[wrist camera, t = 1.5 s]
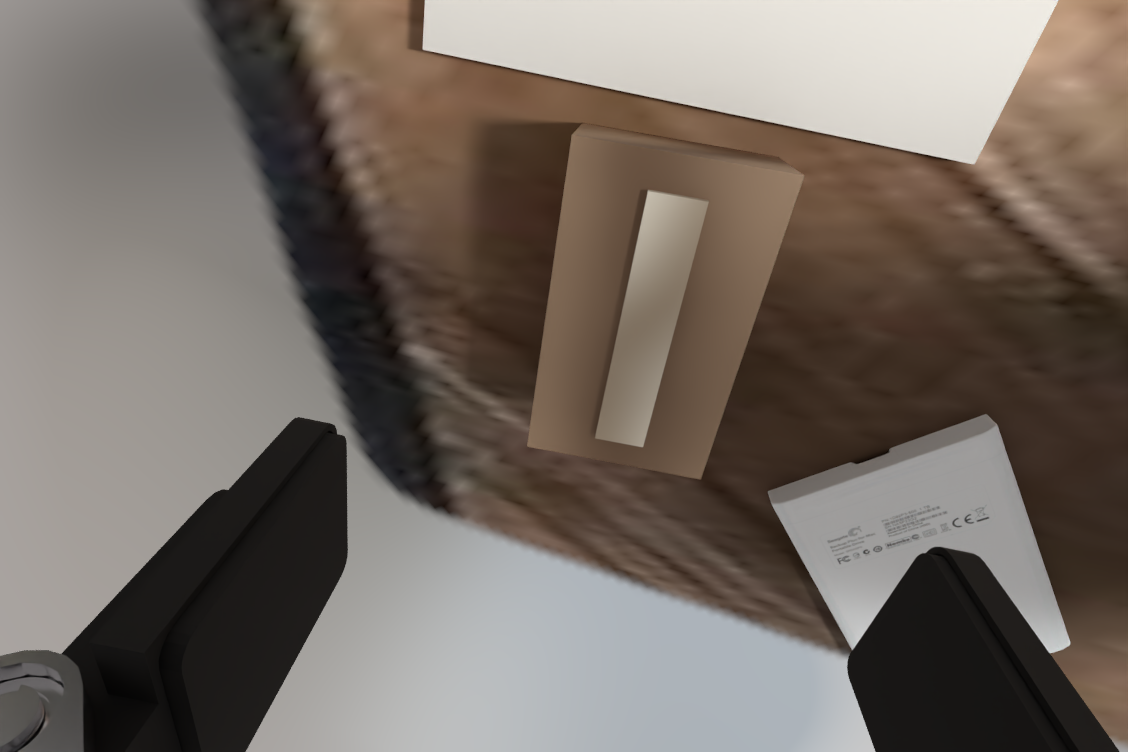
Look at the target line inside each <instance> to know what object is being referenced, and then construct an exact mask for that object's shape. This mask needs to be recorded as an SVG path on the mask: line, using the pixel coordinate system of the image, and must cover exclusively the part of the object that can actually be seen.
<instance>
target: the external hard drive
mask: <svg viewBox="0 0 1128 752" xmlns="http://www.w3.org/2000/svg"><path fill="white" fill-rule="evenodd" d="M768 495H769V498H770V501H771V504H772V506H773V508H774V510H775V512H776V514H777V515H778V517H779V519H780V521H781V522H782V524H783V526H784V528H785V530H786V532H787V533H788V535H789V537H790V539H791V541H792V543H793V544H794V546H795V548H796V550H797V552H798V553H799V555H800V557H801V559H802V561H803V563H804V564H805V566H806V568H807V570H808V571H809V573H810V575H811V577H812V579H813V581H814V582H815V584H816V586H817V588H818V590H819V592H820V593H821V595H822V597H823V599H824V601H825V602H826V604H827V606H828V608H829V610H830V611H831V613H832V615H833V616H834V618H835V620H836V622H837V624H838V626H839V627H840V629H841V631H842V633H843V635H844V636H845V638H846V640H847V642H848V644H849V645H850V647H851V649H852V650H853V649H854V647H855V646H856V644H857V643H858V642H859V640H860V639H861V637H862V636H863V634H864V633H865V631H866V630H867V628H868V627H869V625H870V624H871V623H872V621H873V620H874V618H875V617H876V615H877V614H878V612H879V611H880V609H881V608H882V606H883V605H884V604H885V602H886V601H887V599H888V598H889V596H890V595H891V593H892V592H893V590H894V589H895V587H896V586H897V585H898V583H899V582H900V580H901V579H902V577H903V576H904V574H905V573H906V571H907V570H908V568H909V567H910V565H911V564H912V563H913V561H914V560H915V558H916V557H917V556H918V555H919V554H922V553H926V552H927V551H928V550H929V549H931V548H933V547H944V548H949V549H954V550H959V551H964V552H969V553H973V554H975V555H977V556H979V557H980V558H981V559H982V560H983V561H984V562H985V563H986V565H987V566H988V568H989V569H990V570H991V572H992V573H993V575H994V576H995V577H996V579H997V580H998V582H999V583H1000V584H1001V586H1002V587H1003V589H1004V590H1005V591H1006V593H1007V594H1008V596H1009V597H1010V599H1011V600H1012V601H1013V603H1014V604H1015V606H1016V607H1017V608H1018V610H1019V611H1020V613H1021V614H1022V615H1023V617H1024V618H1025V620H1026V621H1027V622H1028V624H1029V625H1030V627H1031V628H1032V629H1033V631H1034V632H1035V634H1036V635H1037V636H1038V638H1039V639H1040V641H1041V642H1042V643H1043V645H1044V646H1045V648H1046V649H1047V650H1048V652H1049V653H1053V652H1057V651H1060V650H1063V649H1065V648H1066V647H1068V646H1069V645H1070V640H1069V637H1068V634H1067V631H1066V628H1065V624H1064V622H1063V619H1062V616H1061V613H1060V610H1059V607H1058V604H1057V601H1056V598H1055V595H1054V592H1053V589H1052V586H1051V583H1050V580H1049V577H1048V574H1047V571H1046V569H1045V566H1044V563H1043V560H1042V557H1041V554H1040V551H1039V548H1038V545H1037V542H1036V539H1035V536H1034V533H1033V530H1032V527H1031V524H1030V521H1029V518H1028V515H1027V512H1026V509H1025V506H1024V503H1023V500H1022V497H1021V494H1020V491H1019V488H1018V485H1017V482H1016V479H1015V476H1014V473H1013V470H1012V467H1011V464H1010V461H1009V459H1008V455H1007V453H1006V450H1005V446H1004V443H1003V440H1002V437H1001V434H1000V432H999V428H998V425H997V424H996V423H995V422H994V421H993V420H992V419H991V418H990V417H989V416H988V415H987V414H985V415H982V416H979V417H976V418H974V419H971V420H968V421H965V422H962V423H960V424H957V425H954V426H951V427H948V428H945V429H943V430H940V431H937V432H934V433H931V434H928V435H926V436H923V437H920V438H917V439H914V440H912V441H909V442H906V443H903V444H900V445H898V446H895V447H892V448H890V449H889V451H888V453H886V454H884V455H882V456H879V457H875V458H872V459H871V460H868V461H865V462H863V463H859V464H856V463H852V462H850V463H846V464H844V465H841V466H838V467H835V468H832V469H829V470H827V471H824V472H821V473H818V474H815V475H812V476H809V477H807V478H804V479H801V480H798V481H795V482H792V483H790V484H787V485H784V486H781V487H778V488H775V489H773V490H770V491H768Z"/></svg>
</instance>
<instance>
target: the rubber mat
mask: <svg viewBox="0 0 1128 752" xmlns="http://www.w3.org/2000/svg"><path fill="white" fill-rule="evenodd" d="M1057 2H1058V0H425V9H424V29H423V50H427V51H431V52H436V53H441V54H446V55H451V56H455V57H460V58H465V59H470V60H475V61H479V62H484V63H489V64H494V65H499V66H503V67H508V68H513V69H518V70H523V71H527V72H532V73H537V74H542V75H547V76H551V77H556V78H561V79H566V80H571V81H575V82H580V83H585V84H590V85H594V86H599V87H604V88H609V89H614V90H618V91H623V92H628V93H633V94H638V95H642V96H647V97H652V98H657V99H662V100H666V101H671V102H676V103H681V104H686V105H690V106H695V107H700V108H705V109H710V110H714V111H719V112H724V113H729V114H734V115H738V116H743V117H748V118H753V119H758V120H762V121H767V122H772V123H777V124H782V125H786V126H791V127H796V128H801V129H806V130H810V131H815V132H820V133H825V134H830V135H834V136H839V137H844V138H849V139H854V140H858V141H863V142H868V143H873V144H877V145H882V146H887V147H892V148H897V149H901V150H906V151H911V152H916V153H921V154H925V155H930V156H935V157H940V158H945V159H949V160H954V161H959V162H964V163H969V164H973V165H974V164H975V162H976V160H977V158H978V156H979V155H980V153H981V151H982V149H983V147H984V145H985V143H986V141H987V139H988V137H989V135H990V133H991V131H992V129H993V127H994V125H995V123H996V121H997V119H998V117H999V115H1000V114H1001V112H1002V110H1003V108H1004V106H1005V104H1006V102H1007V100H1008V98H1009V96H1010V94H1011V92H1012V90H1013V88H1014V86H1015V84H1016V82H1017V80H1018V78H1019V76H1020V74H1021V72H1022V71H1023V69H1024V67H1025V65H1026V63H1027V61H1028V59H1029V57H1030V55H1031V53H1032V51H1033V49H1034V47H1035V45H1036V43H1037V41H1038V39H1039V37H1040V35H1041V33H1042V31H1043V29H1044V28H1045V26H1046V24H1047V22H1048V20H1049V18H1050V16H1051V14H1052V12H1053V10H1054V8H1055V6H1056V4H1057Z"/></svg>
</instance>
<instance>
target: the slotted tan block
mask: <svg viewBox="0 0 1128 752" xmlns="http://www.w3.org/2000/svg"><path fill="white" fill-rule="evenodd" d="M803 179H804V175H803V174H802V173H800V172H799V171H797V170H796V169H794V168H793V167H792V166H790V165H789V164H787V163H786V162H785V161H783V160H782V159H780V158H779V157H775V156H769V155H764V154H758V153H752V152H746V151H741V150H735V149H729V148H723V147H718V146H712V145H706V144H701V143H695V142H689V141H683V140H678V139H672V138H666V137H660V136H655V135H649V134H643V133H638V132H632V131H626V130H620V129H615V128H609V127H603V126H597V125H592V124H586V123H582V124H581V125H580V126H579V127H578V128H577V130H576V131H575V132H574V133H573V134H572V137H571V144H570V151H569V158H568V165H567V172H566V179H565V186H564V192H563V199H562V206H561V213H560V220H559V227H558V234H557V241H556V248H555V255H554V262H553V269H552V276H551V283H550V290H549V297H548V304H547V310H546V317H545V324H544V331H543V338H542V345H541V352H540V359H539V366H538V373H537V380H536V387H535V394H534V401H533V408H532V415H531V422H530V428H529V435H528V442H527V447H532V448H537V449H542V450H548V451H553V452H558V453H563V454H569V455H574V456H579V457H585V458H590V459H595V460H600V461H606V462H611V463H616V464H621V465H627V466H632V467H637V468H642V469H648V470H653V471H658V472H663V473H669V474H674V475H679V476H684V477H690V478H695V479H700V480H701V477H702V474H703V471H704V468H705V466H706V463H707V460H708V457H709V454H710V451H711V448H712V445H713V442H714V439H715V436H716V433H717V430H718V428H719V425H720V422H721V419H722V416H723V413H724V410H725V407H726V404H727V401H728V398H729V395H730V392H731V389H732V387H733V384H734V381H735V378H736V375H737V372H738V369H739V366H740V363H741V360H742V357H743V354H744V351H745V349H746V346H747V343H748V340H749V337H750V334H751V331H752V328H753V325H754V322H755V319H756V316H757V313H758V310H759V308H760V305H761V302H762V299H763V296H764V293H765V290H766V287H767V284H768V281H769V278H770V275H771V272H772V270H773V267H774V264H775V261H776V258H777V255H778V252H779V249H780V246H781V243H782V240H783V237H784V234H785V232H786V229H787V226H788V223H789V220H790V217H791V214H792V211H793V208H794V205H795V202H796V199H797V196H798V193H799V191H800V188H801V185H802V182H803Z"/></svg>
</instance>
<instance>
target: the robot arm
mask: <svg viewBox="0 0 1128 752" xmlns="http://www.w3.org/2000/svg"><path fill="white" fill-rule="evenodd" d="M346 454H347V450H346V438H345V436H342V435H337V430H336V428H335V426H334V425H333V424H330V423H324V422H320V421H314V420H310V419H304V418H300V417H298V418H295V419H293V420H292V421H291V422H290V423H289V424H288V425H287V426H286V428H285V429H284V430H283V431H282V432H281V433H280V434H279V435H278V437H276V438H275V440H274V441H273V442H272V443H271V444H270V445H269V446H268V447H267V448H266V449H265V450H264V452H263V453H262V454H261V455H260V456H259V457H258V458H257V459H256V460H255V461H254V463H253V464H252V465H251V466H250V467H249V468H248V469H247V470H246V471H245V472H244V473H243V475H242V476H241V477H240V478H239V479H238V480H237V481H236V482H235V483H234V485H232V487H231V488H230V489H229V490H220V491H218V492H216V493H214V494H213V495H212V496H211V497H209V498H208V499H207V500H206V501H205V502H204V503H203V504H202V505H201V506H200V507H199V508H198V509H197V511H195V513H194V514H193V515H192V516H191V517H190V518H189V519H188V520H187V521H186V522H185V523H184V525H182V526H181V528H180V529H179V530H178V531H177V532H176V533H175V534H174V535H173V536H172V537H171V538H170V539H169V540H168V541H167V542H166V543H165V545H164V546H163V547H162V548H161V549H160V550H159V551H158V552H157V553H156V554H155V555H154V556H153V557H152V558H151V559H150V560H149V561H148V563H146V565H145V566H144V567H143V568H142V569H141V570H140V571H139V572H138V573H137V574H136V575H135V576H134V577H133V578H132V579H131V580H130V582H129V583H128V584H127V585H126V586H125V587H124V588H123V589H122V590H121V591H120V592H119V593H118V594H117V595H116V596H115V598H114V599H113V600H112V601H111V602H110V603H109V604H108V605H107V606H106V607H105V608H104V609H103V610H102V611H101V612H100V613H99V614H98V616H97V617H96V618H95V619H94V620H93V621H92V622H91V623H90V624H89V625H88V626H87V627H86V628H85V629H84V630H83V631H82V633H81V634H80V635H79V636H78V637H77V638H76V639H75V640H74V641H73V642H72V643H71V644H70V645H69V646H68V647H67V648H66V650H65V651H64V652H63V653H62V654H59V653H56V652H52V651H49V650H29V651H28V650H26V651H25V650H24V651H19V652H16V653H11V654H6V655H2V656H0V752H245V751H246V750H247V748H248V746H249V744H250V742H251V740H252V739H253V737H254V735H255V733H256V731H257V729H258V728H259V726H260V724H261V722H262V720H263V718H264V717H265V715H266V713H267V711H268V709H269V708H270V706H271V704H272V702H273V700H274V698H275V696H276V695H277V693H278V691H279V689H280V687H281V686H282V684H283V682H284V680H285V678H286V676H287V675H288V673H289V671H290V669H291V667H292V665H293V664H294V662H295V660H296V658H297V656H298V654H299V653H300V651H301V649H302V647H303V645H304V643H305V642H306V640H307V638H308V636H309V634H310V632H311V631H312V629H313V627H314V625H315V623H316V621H317V620H318V618H319V616H320V614H321V612H322V610H323V608H324V607H325V605H326V603H327V601H328V599H329V598H330V596H331V594H332V592H333V590H334V588H335V586H336V585H337V583H338V581H339V579H340V577H341V575H342V573H343V570H344V568H345V564H346V560H347V553H348V552H347V551H348V548H347V547H348V545H347V544H348V543H347V458H346V457H347V455H346ZM847 668H848V675H849V679H850V682H851V684H852V687H853V690H854V693H855V696H856V699H857V701H858V704H859V707H860V710H861V712H862V715H863V718H864V720H865V723H866V726H867V729H868V732H869V735H870V737H871V740H872V743H873V746H874V748H875V751H876V752H1119V750H1118V749H1117V747H1116V746H1115V745H1114V743H1113V742H1112V740H1111V739H1110V738H1109V736H1108V735H1107V733H1106V732H1105V731H1104V729H1103V728H1102V726H1101V725H1100V723H1099V722H1098V721H1097V719H1096V718H1095V716H1094V715H1093V714H1092V712H1091V711H1090V709H1089V708H1088V707H1087V705H1086V704H1085V702H1084V701H1083V700H1082V698H1081V697H1080V695H1079V694H1078V693H1077V691H1076V690H1075V688H1074V687H1073V686H1072V684H1071V683H1070V681H1069V680H1068V679H1067V677H1066V676H1065V674H1064V673H1063V672H1062V670H1061V669H1060V667H1059V666H1058V665H1057V663H1056V662H1055V660H1054V659H1053V657H1052V656H1051V655H1050V653H1049V652H1048V650H1047V649H1046V648H1045V646H1044V645H1043V643H1042V642H1041V641H1040V639H1039V638H1038V636H1037V635H1036V634H1035V632H1034V631H1033V629H1032V628H1031V627H1030V625H1029V624H1028V622H1027V621H1026V620H1025V618H1024V617H1023V615H1022V614H1021V613H1020V611H1019V610H1018V608H1017V607H1016V606H1015V604H1014V603H1013V601H1012V600H1011V599H1010V597H1009V596H1008V594H1007V593H1006V591H1005V590H1004V589H1003V587H1002V586H1001V584H1000V583H999V582H998V580H997V579H996V577H995V576H994V575H993V573H992V572H991V570H990V569H989V568H988V566H987V565H986V563H985V562H984V561H983V560H982V559H981V558H980V557H979V556H977V555H975V554H973V553H969V552H964V551H959V550H954V549H949V548H944V547H933V548H931V549H929V550H928V551H927V552H926V553H922V554H919V555H918V556H917V557H916V558H915V560H914V561H913V563H912V564H911V565H910V567H909V568H908V570H907V571H906V573H905V574H904V576H903V577H902V579H901V580H900V582H899V583H898V585H897V586H896V587H895V589H894V590H893V592H892V593H891V595H890V596H889V598H888V599H887V601H886V602H885V604H884V605H883V606H882V608H881V609H880V611H879V612H878V614H877V615H876V617H875V618H874V620H873V621H872V623H871V624H870V625H869V627H868V628H867V630H866V631H865V633H864V634H863V636H862V637H861V639H860V640H859V642H858V643H857V644H856V646H855V647H854V649H853V650H852V652H851V653H850V656H849V659H848V666H847Z"/></svg>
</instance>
